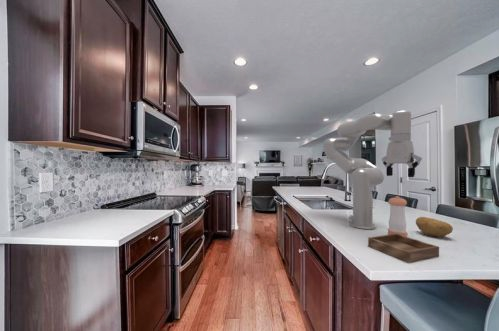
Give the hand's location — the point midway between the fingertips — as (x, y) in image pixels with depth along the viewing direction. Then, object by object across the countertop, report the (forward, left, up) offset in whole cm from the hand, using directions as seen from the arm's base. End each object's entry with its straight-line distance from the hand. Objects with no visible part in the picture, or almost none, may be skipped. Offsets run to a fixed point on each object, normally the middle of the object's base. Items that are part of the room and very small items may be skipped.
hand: (399, 176), depth 98 cm
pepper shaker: (0, -1, -28) cm, 28 cm away
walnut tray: (+11, -14, -28) cm, 33 cm away
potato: (+3, +19, -28) cm, 34 cm away
